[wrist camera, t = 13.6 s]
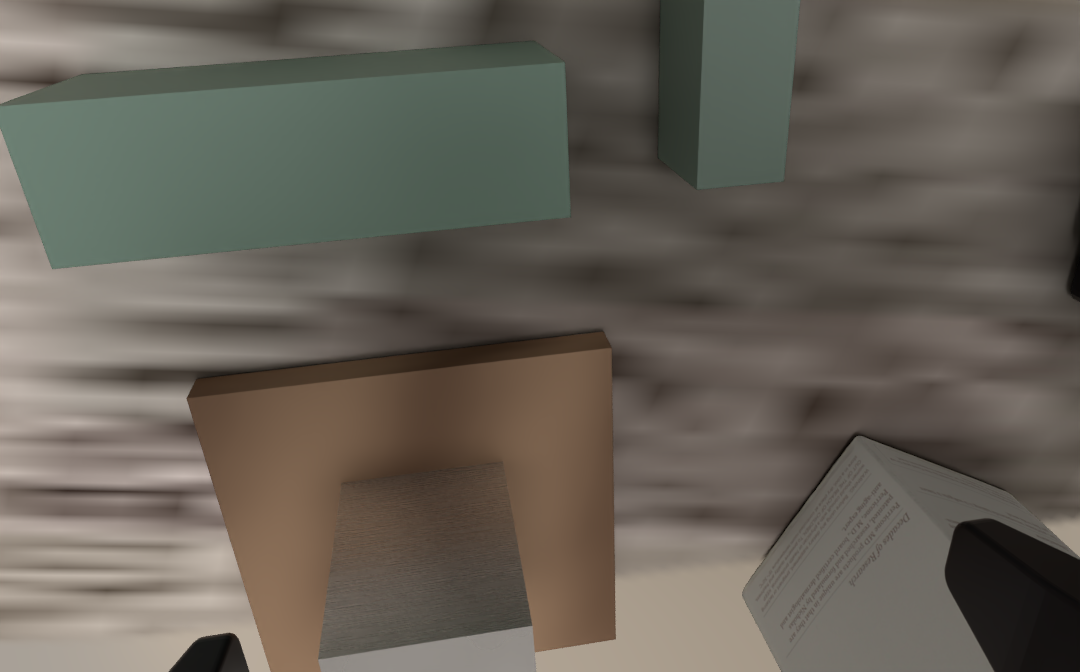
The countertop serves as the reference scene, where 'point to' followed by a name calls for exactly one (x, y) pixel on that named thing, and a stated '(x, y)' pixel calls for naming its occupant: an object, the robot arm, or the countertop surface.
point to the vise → (375, 139)
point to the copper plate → (417, 471)
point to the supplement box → (877, 568)
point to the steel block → (427, 577)
